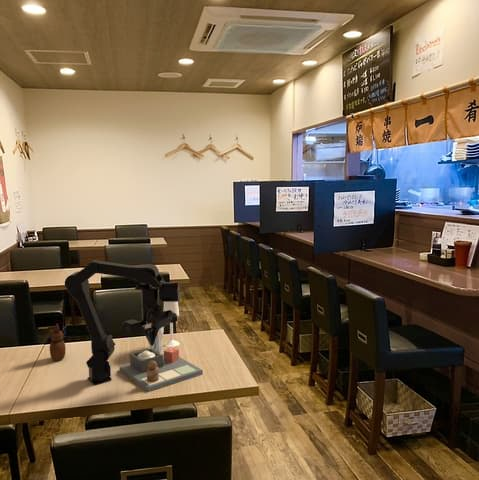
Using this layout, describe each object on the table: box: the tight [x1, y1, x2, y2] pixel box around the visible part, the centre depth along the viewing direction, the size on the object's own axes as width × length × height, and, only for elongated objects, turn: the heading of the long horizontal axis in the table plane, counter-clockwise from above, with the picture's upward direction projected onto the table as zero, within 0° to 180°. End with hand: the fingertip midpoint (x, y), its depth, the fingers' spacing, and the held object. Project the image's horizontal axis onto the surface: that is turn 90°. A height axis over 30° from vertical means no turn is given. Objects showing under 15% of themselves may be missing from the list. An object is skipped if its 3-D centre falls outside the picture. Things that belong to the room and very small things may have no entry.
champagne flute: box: [162, 302, 180, 348], centre depth 200 cm, size 7×7×24 cm
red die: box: [163, 347, 180, 363], centre depth 181 cm, size 4×4×4 cm
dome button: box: [138, 351, 155, 360], centre depth 175 cm, size 6×6×4 cm
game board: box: [119, 348, 204, 392], centre depth 174 cm, size 22×22×6 cm
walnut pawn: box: [147, 360, 159, 382], centre depth 164 cm, size 4×4×7 cm
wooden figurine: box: [49, 322, 66, 361], centre depth 185 cm, size 7×6×15 cm
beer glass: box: [148, 326, 165, 355], centre depth 192 cm, size 7×7×15 cm
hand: (151, 345), depth 165 cm, fingers closed
